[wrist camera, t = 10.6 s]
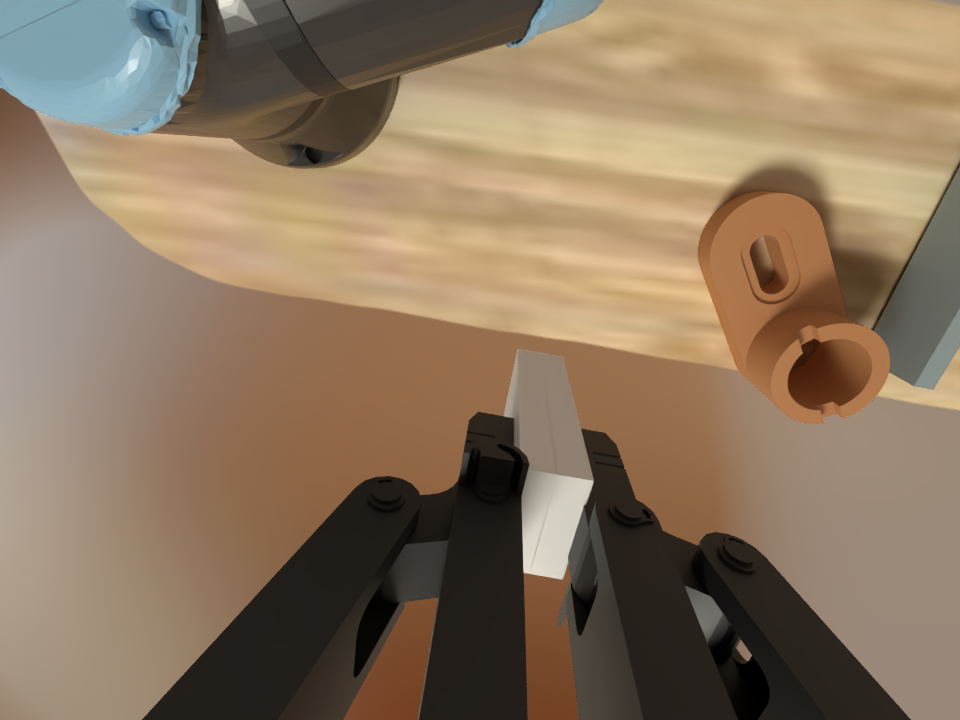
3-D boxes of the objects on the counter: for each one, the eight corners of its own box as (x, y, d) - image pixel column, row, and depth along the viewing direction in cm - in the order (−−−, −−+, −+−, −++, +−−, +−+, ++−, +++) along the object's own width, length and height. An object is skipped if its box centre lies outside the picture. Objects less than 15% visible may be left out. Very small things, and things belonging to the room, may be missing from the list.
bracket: (841, 362, 42) (899, 398, 36) (747, 398, 44) (786, 438, 38) (788, 170, 37) (846, 172, 30) (683, 222, 39) (716, 234, 32)
